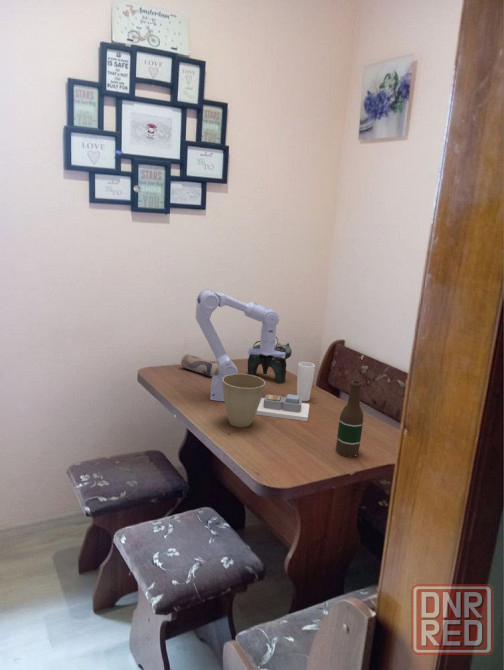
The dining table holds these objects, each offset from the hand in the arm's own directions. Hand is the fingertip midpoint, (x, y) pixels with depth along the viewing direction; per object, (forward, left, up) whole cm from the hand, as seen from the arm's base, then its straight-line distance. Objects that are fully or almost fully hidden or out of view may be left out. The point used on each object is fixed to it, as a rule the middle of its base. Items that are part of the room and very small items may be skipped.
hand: (265, 373), depth 214 cm
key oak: (+5, -11, -8) cm, 15 cm away
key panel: (+9, -11, -10) cm, 18 cm away
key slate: (+12, -11, -7) cm, 18 cm away
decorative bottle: (-29, +20, -11) cm, 37 cm away
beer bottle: (+33, -39, -11) cm, 52 cm away
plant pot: (-4, -28, -11) cm, 30 cm away
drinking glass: (+16, +4, -11) cm, 19 cm away
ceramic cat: (-2, +24, -11) cm, 27 cm away
